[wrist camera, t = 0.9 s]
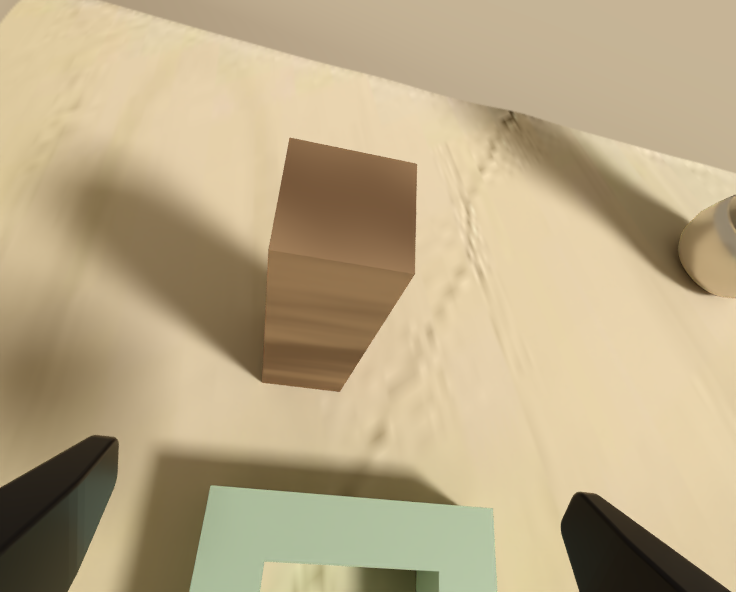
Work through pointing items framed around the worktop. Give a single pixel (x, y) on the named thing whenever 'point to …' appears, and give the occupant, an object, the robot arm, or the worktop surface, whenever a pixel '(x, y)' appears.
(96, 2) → the worktop surface
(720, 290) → the plastic bottle
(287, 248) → the brown square peg
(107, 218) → the worktop surface
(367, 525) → the green square hole base
